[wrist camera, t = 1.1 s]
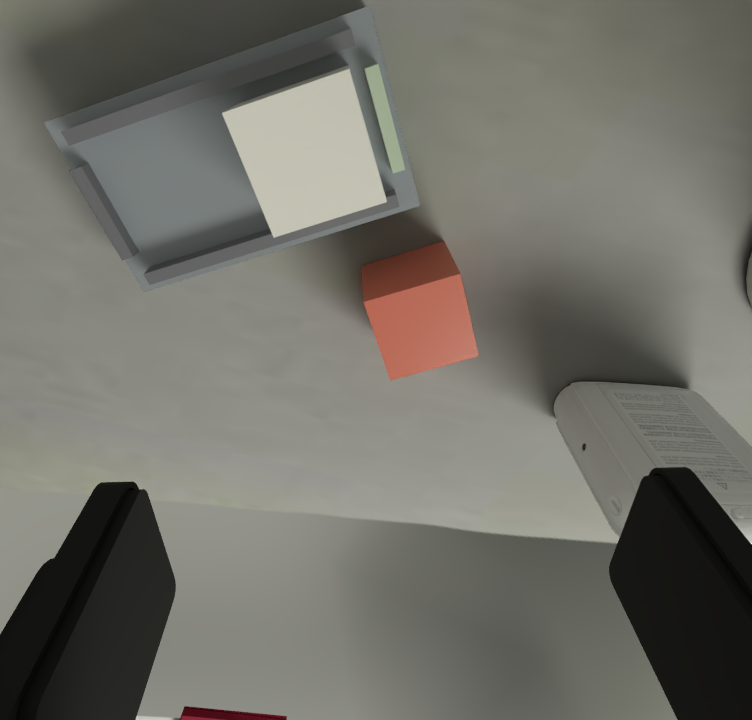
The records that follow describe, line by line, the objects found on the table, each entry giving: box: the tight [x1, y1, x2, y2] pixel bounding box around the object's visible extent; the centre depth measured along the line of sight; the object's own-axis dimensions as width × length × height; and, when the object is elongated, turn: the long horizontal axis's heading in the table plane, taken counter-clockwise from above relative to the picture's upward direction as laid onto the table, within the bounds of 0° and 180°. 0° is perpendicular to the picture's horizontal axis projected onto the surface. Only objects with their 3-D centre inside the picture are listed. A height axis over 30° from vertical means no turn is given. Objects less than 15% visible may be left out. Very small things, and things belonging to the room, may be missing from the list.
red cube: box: [361, 241, 479, 380], centre depth 29 cm, size 5×5×5 cm
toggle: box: [222, 65, 387, 238], centre depth 22 cm, size 5×5×4 cm
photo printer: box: [554, 382, 752, 544], centre depth 31 cm, size 10×4×12 cm, turn 84°
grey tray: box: [44, 6, 420, 292], centre depth 25 cm, size 15×8×4 cm, turn 107°
